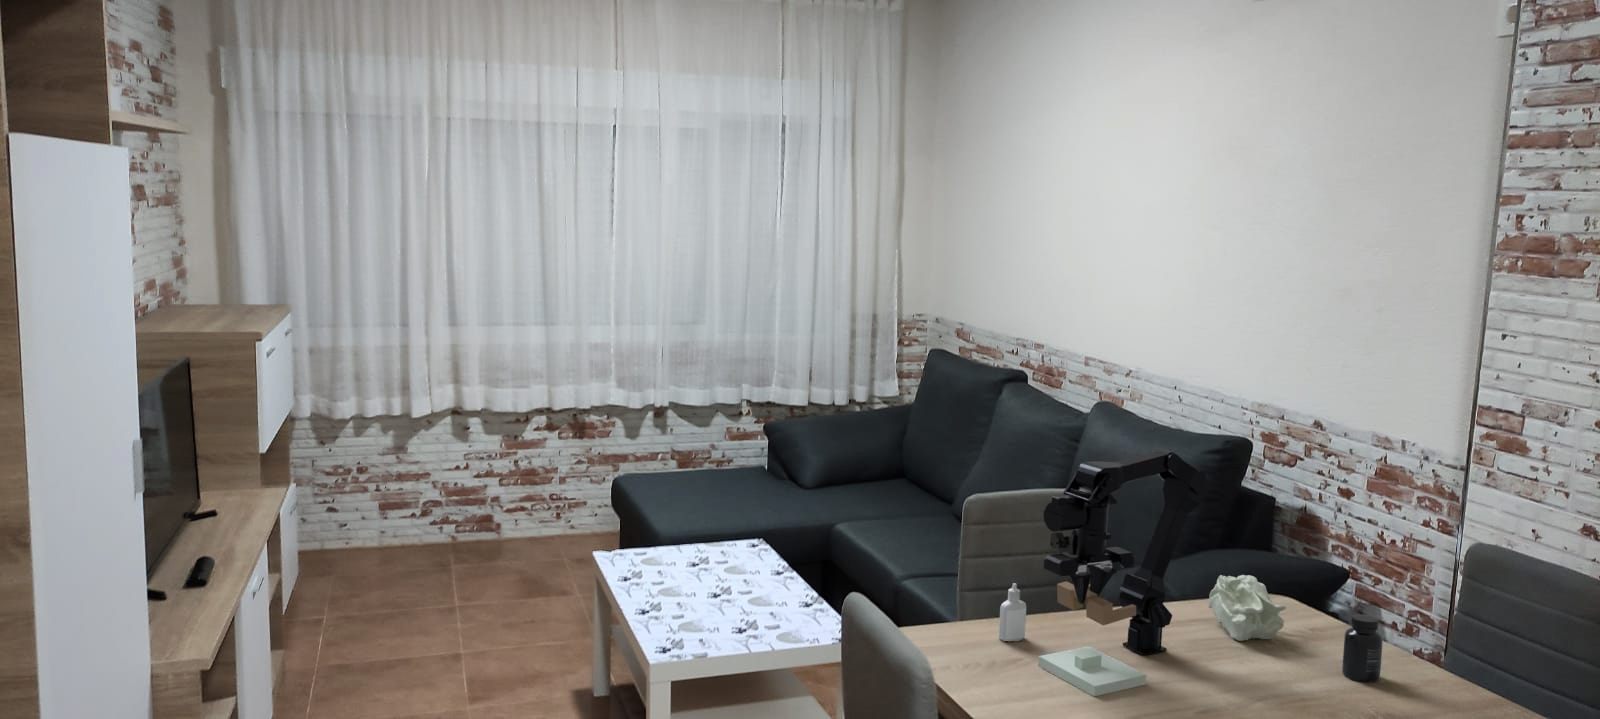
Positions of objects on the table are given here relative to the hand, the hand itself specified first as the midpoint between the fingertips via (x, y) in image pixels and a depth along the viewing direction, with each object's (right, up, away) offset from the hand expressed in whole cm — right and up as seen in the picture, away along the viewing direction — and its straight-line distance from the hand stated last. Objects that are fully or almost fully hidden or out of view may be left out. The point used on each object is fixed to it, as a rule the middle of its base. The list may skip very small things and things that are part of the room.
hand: (1086, 602), depth 232 cm
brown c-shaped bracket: (+3, -2, +3) cm, 4 cm away
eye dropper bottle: (-13, -11, +13) cm, 21 cm away
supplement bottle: (+54, -14, -2) cm, 55 cm away
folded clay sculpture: (+39, -11, +20) cm, 45 cm away
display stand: (-1, -13, -6) cm, 14 cm away
